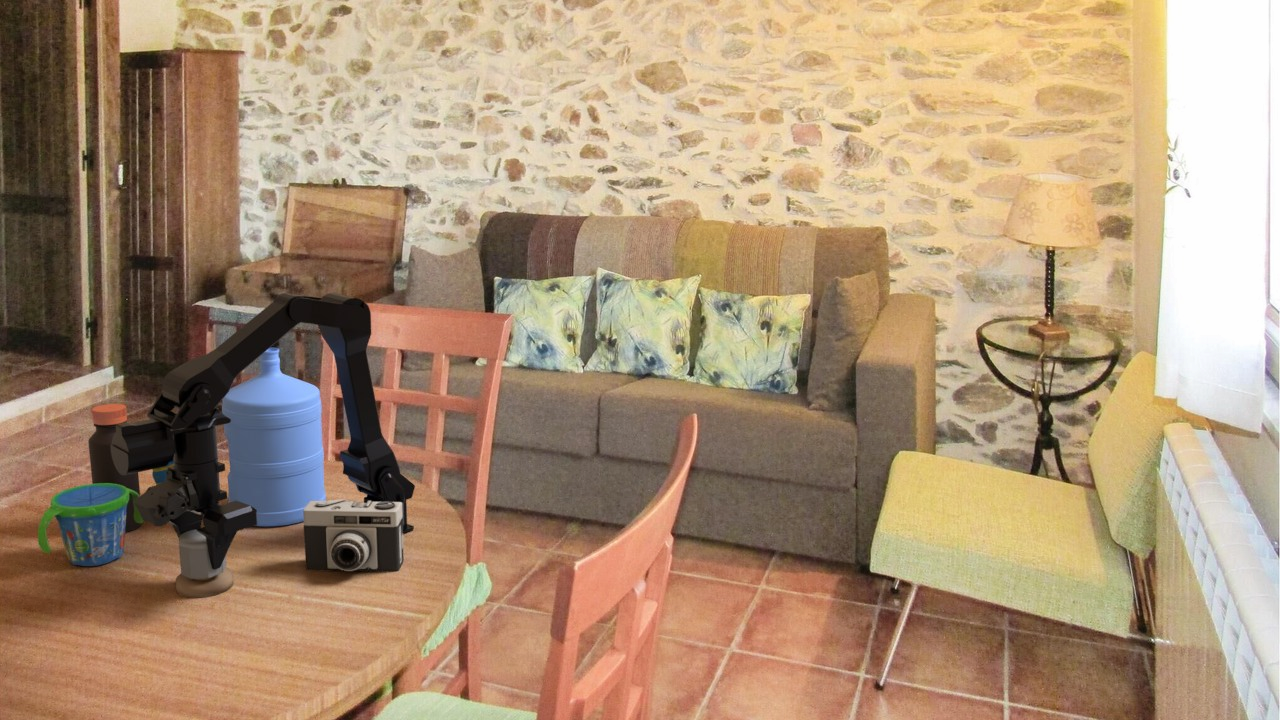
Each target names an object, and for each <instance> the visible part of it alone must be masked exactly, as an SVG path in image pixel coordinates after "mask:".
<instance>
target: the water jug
mask: <svg viewBox="0 0 1280 720" xmlns="http://www.w3.org/2000/svg"><path fill="white" fill-rule="evenodd" d="M279 353H280V349H279V348H277V347H270V348H269V349H268V350H267V351H265V352H264V353H263V354H262V355H261V356H259V367H260V371H259V373H258V375H256V376H253V377H251V378H249V379H248V380H246V381H243V382H241V383H240V384H237V385H236V386H232V387H231V388H230V390H229V392H228V393H227V395H226V396H225V397H224V398H223V399H222V400H221V402H222V406H221V413H223V414H224V415H225V416H227V417H228V418H230V419H231V422H230V423H228V424H223V429H224V430H223V431H224V437H225V438H226V440H227V445H228V459H229V460H228V461H229V472H228V475H227V488H228V490H227V491H228V500H227V501H228V502H227V503H230V502H233V501H239V502H242V503H245V504H248V505H250V506H252V507H253V508H255V509H256V510H257V520H258V523H257V525H254V527H263V528H264V527H265V528H266V527H269V528H270V527H282V526H290V525H294V524H298V523H303V522H304V516H303V509H304V508H305V507H306V506H307V504H308V503H309V502H310V501H327V499H326V498H327V496H326V490H325V476H324V475H325V474H324V473H325V472H324V460H325V459H324V458H325V457H324V456H325V455H324V446H323V431H322V430H323V429H322V410H323V409H322V400H321V392H320V389H319V388H318V387H317V386H316V385H314V384H311V383H309V382H306V381H304V380H301V379H298V378H295V377H292V376H291V375H287V374H284V373H282V371H281V369H280V368H281V365H280V363H281V360H280V359H281V358H280V357H279V356H280V355H279Z"/></svg>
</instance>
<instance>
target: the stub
mask: <svg viewBox="0 0 1280 720" xmlns="http://www.w3.org/2000/svg"><path fill="white" fill-rule="evenodd" d="M233 586H234V572H233V569H231V568H229V567H227V566H226V567H225V569H224V572H223V573H221V574H218V575H215V576H213V577H210V578H198V579H190V578H188V577H186V576H183V575H181V573H179V574H178V575H177V576H176V578H175V589H176V593H177V594H178V595H180V596H182V597H184V598H190V599H191V598H193V599H197V598H198V599H199V598H208V597H213V596H217V595H220V594H223V593H225V592H227V591H228V590H230V589H231V588H232V587H233Z"/></svg>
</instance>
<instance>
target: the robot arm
mask: <svg viewBox="0 0 1280 720" xmlns="http://www.w3.org/2000/svg"><path fill="white" fill-rule="evenodd" d="M300 323H302V324H311V325H317V327H318V329H319V332H320V334H321V336H322V338H323V340H324V341H325V342H326V344H327V346H328V347H329V348H330V351H331V352H332V354H333V356H334V361H335V365H336V371H337V375H338V381H339V386H340V391H341V395H342V401H343V406H344V410H345V416H346V421H347V425H348V430H349V435H350V441H349V444H348V447H347V449H344V450H340V452H339V456H340V459H341V461H342V464H343V465H342V466H343V469H342V474H343V475H345V476H347V478H348V480H349V481H350V482H352V483H353V484H355V486H356V489H357V491H358V492H359V493H363V494H366V496H364V497H363V503H367V502H368V501H369V500H370V501H371V502H383V501H389V502H402V515H403V534H405V533H408V532H411V531H413V530H415V529H414V528H415V526H414V525H412V524H408V515H407V512H408V509H407V500H409V499H412V498H413V496H414V492H415V487H416V486H415V484H414V483H413V482H411V481H410V480H409V479H408V478H407V477H406V476H405V475H403V474H402V473H401V468H400V465H399V463H398V460H397V458H396V455H395V453H394V451H393V449H392V447H390V444H389V443H388V442H387V440H386V438H385V437H384V436H383V432H382V427H381V422H380V416H379V411H378V407H377V401H376V397H375V396H376V395H375V391H374V385H373V380H372V375H371V369H370V364H369V360H368V359H369V358H368V354H367V350H368V349H367V348H368V345H369V343H370V340H371V336H372V314H371V309H370V306H369V304H368V303H367V302H365V301H363V300H362V299H361V298H357V297H353V296H350V295H349V296H348V295H345V294H340V293H336V292H329V293H328V292H327V294H324V295H323V296H322V297H319V296H310V295H300V294H293V293H290V292H282V293H280V294H278V295H277V296H275V298H274V299H273V301H272V302H271V303H270V304H269V305H267V307H265V308H264V309H262V311H260V312H259V313H258V314H257V315H255V316H254V317H253V318H252V319H250V320H249V321H248V322H247V323H246V324H244V325H243V326H241V327H240V328H239V329H238V330H237V331H236V332H234V333H233V334H232V335H231V336H229V337H228V338H227V339H226V340H224V341H223V342H222V343H221V344H220V345H218V346H217V347H216V348H215V349H213V350H212V351H210V352H208V353H206V354H203V355H200V356H197V357H195V358H192V359H190V360H188V361H186V362H185V363H182V364H181V365H179V366H177V367H176V368H173V369H172V370H170V371H169V372H168V373H167V374H166V375H165V376H164V378H163V379H162V386H161V391H160V393H159V394H158V396H157V398H156V399H155V401H154V403H153V404H152V406H151V408H150V409H149V411H148V413H147V414H146V416H147V418H148V419H144V420H139V421H134V422H129V421H127V422H126V423H120V424H117V425H116V433H115V434H114V436H113V439H112V445H111V446H110V447H111V455H112V459H113V462H114V465H115V467H116V469H117V471H118V472H119V473H120V474H121V475H128V474H133V473H137V472H138V473H141V472H145V471H150V470H153V469H155V468H160V467H164V466H167V465H168V463H169V462H172V461H173V459H174V466H171V467H168V470H167V471H166V480H165V481H164V482H162V483H160V484H158V485H156V484H155V485H152V486H148V487H147V489H146V491H145V492H144V493H142V494H140V496H139V497H138V498H137V499H135V501H134V504H135V506H136V507H137V509H138V511H139V513H140V515H141V517H142V519H143V521H144V522H145V523H149V524H151V525H153V526H154V527H158V528H159V527H163V526H165V525H167V524H168V523H170V524H171V526H172V528H173V529H174V532H175V533H176V534H175V535H176V536H177V539H179V536H180V535H182V534H183V533H185V532H188V531H191V530H195V529H196V530H197V531H198V532H199V533H201V534H202V535H204V536H205V537H206V541H207V547H208V552H209V558H210V562H211V566H212V569H214V570H215V569H218V568H220V567H221V565H222V563H223V560H224V558H225V556H226V557H227V553H228V551H229V549H230V547H231V544H232V543H233V540H234V538H235V537H236V535H237V533H238V532H239V531H242V530H245V529H248V528H251V527H253V526H254V525H257V523H258V520H257V510H256V509H255V508H253V507H252V506H250V505H248V504H245V503H242V502H239V501H233V502H230V503H228V502H227V503H224V504H219V503H220V502H221V501H223V500H226V499H228V493H227V491H226V490H223V489H221V484H220V481H221V480H220V473H222V472H226V464H225V463H223V462H220V461H219V458H218V457H219V456H218V442H217V440H218V439H217V430H216V427H218V426H221V425H223V426H224V424H228V423H230V422H231V419H230V418H228V417H227V416H225V415H224V414H223V413H222V410H221V411H220V408H219V407H217V406H219V404H220V403H221V402H222V399H223V398H224V397H225V396H226V395H227V393H228V392H229V390H230V389H231V388H232V387H233V384H234V381H235V380H236V379H237V377H238V376H239V375H240V374H241V373H242V372H243V371H244V370H245V369H247V367H248V366H250V365H252V364H253V362H255V361H256V360H257V359H258V358H260V356H261V355H262V354H263V353H264V352H265V351H267V350H268V349H269V348H272V346H274V345H275V344H276V343H278V342H279V341H280V340H281V339H282V338H283V337H284V336H286V335H287V334H288V333H290V331H292V330H293V329H294V328H295V327H297V326H298V325H299V324H300ZM174 409H177V410H178V411H177V413H176V412H173V411H172V410H174ZM144 522H143V523H144ZM202 525H203V526H202ZM254 527H255V526H254Z"/></svg>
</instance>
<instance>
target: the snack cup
mask: <svg viewBox="0 0 1280 720" xmlns="http://www.w3.org/2000/svg"><path fill="white" fill-rule="evenodd" d="M129 493H130V494H132V497H133V505H134V520H135V522H137V523H142V524H143V523H144V521H143V519H142V517H141V515H140V513H139V511H138V509H137V507H136V506H135V504H134V501H135V499H137V498H138V497H139V494H138V493H137V492H135V491H133V490H131V489H128V488H126V487H124V486H122V485H118V484H111V483H98V484H92V483H88V484H81V485H76V486H73V487H69V488H66V489H63V490H62V491H59V492H57V493H56V494H54V495H52V497H51V499H50V506H49V508H47V509H46V511H44V512H43V515H42V517H41V518H40V521H39V523H38V529H37V544H38V546H39V548H40V550H41V551H42V552H43V553H45V554H51V553H52V550H51V546H50V544H49V540H48V536H47V529H48V526H49V525H50V523H51V522H52V521H53V519H54V518H55V520H56V521H57V525H58V528H59V529H58V530H59V532H60V534H61V538H62V539H61V540H62V542H63V546H64V550H65V553H66V556H67V558H68V560H69V561H70V563H71V564H72V565H73V566H81V567H94V566H95V567H96V566H101V565H106V564H109V563H111V562H113V561H115V560H117V559H120V558H121V557H122V555H123V553H124V551H125V550H124V548H125V544H126V543H125V542H126V532H125V526H126V508H127V503H128V501H129Z"/></svg>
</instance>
